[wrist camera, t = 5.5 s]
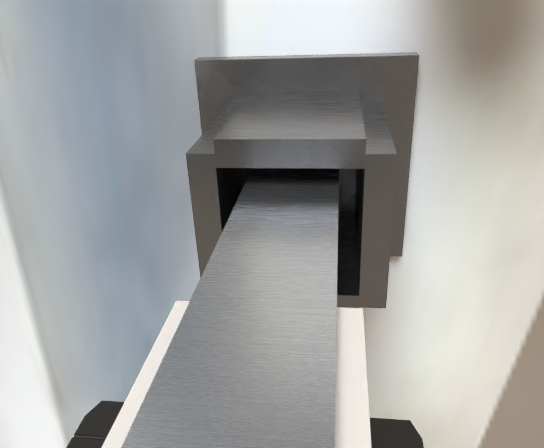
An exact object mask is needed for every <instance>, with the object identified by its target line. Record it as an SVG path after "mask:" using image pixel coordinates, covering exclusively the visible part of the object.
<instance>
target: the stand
mask: <svg viewBox="0 0 544 448" xmlns="http://www.w3.org/2000/svg"><path fill="white" fill-rule="evenodd" d="M418 60H419V55H418V54H417V53H380V54H338V55H295V56H253V57H211V58H198V59H196V60H194V61H195V70H196V80H197V90H198V100H199V110H200V119H201V129H202V136H201V137H200V138H199V139H198V141H197V142H196V143H195V144H194V145H193V146H192V147H191V148H190V150H189V151H188V152H187V153H186V159H187V168H188V176H189V184H190V193H191V201H192V210H193V218H194V226H195V235H196V243H197V252H198V260H199V268H200V277H201V276H202V274H203V272H204V270H205V268H206V266H207V264H208V261H209V259H210V257H211V255H212V253H213V251H214V249H215V246H216V244H217V242H218V240H219V238H220V236H221V234H222V232H223V229H224V227H225V225H226V223H227V221H228V219H229V217H230V214H231V212H232V210H233V208H234V206H235V204H236V202H237V200H238V197H239V195H240V193H241V191H242V189H243V187H244V185H245V182H246V180H247V178H248V176H249V174H250V172H251V170H252V168H332V169H339V205H338V266H337V307H341V308H359V307H369V308H386V299H387V285H388V272H389V258H390V256H402V249H403V237H404V225H405V213H406V202H407V190H408V178H409V166H410V155H411V143H412V131H413V119H414V108H415V96H416V84H417V72H418Z"/></svg>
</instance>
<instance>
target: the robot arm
mask: <svg viewBox="0 0 544 448" xmlns="http://www.w3.org/2000/svg"><path fill="white" fill-rule="evenodd" d="M189 302H190V301H176V302H175V304H174V306H173V308H172V310H171V312H170V314H169V316H168V318H167V320H166V322H165V324H164V326H163V328H162V330H161V332H160V334H159V336H158V338H157V340H156V342H155V344H154V346H153V348H152V349H151V351H150V353H149V355H148V357H147V359H146V361H145V363H144V365H143V367H142V369H141V371H140V373H139V375H138V377H137V379H136V381H135V383H134V385H133V387H132V389H131V391H130V393H129V395H128V397H127V399H126V401H125V402H114V401H101V402H100V403H99V404H98V405H97V406H95V407H94V408H93V409H92V410H91V411H90V412H89V413H88V414H87V415H86V416H85V417H84V419H83V420H82V422H81V424H80V425H79V427H78V429H77V431H76V432H75V434H74V438H72V439H71V441H70V443H69V444H68V446H67V448H121V447H122V445H123V443H124V441H125V438H126V436H127V434H128V432H129V430H130V428H131V426H132V423H133V421H134V419H135V417H136V415H137V413H138V411H139V409H140V406H141V404H142V402H143V400H144V398H145V396H146V394H147V391H148V389H149V387H150V385H151V383H152V381H153V379H154V377H155V374H156V372H157V370H158V368H159V366H160V364H161V362H162V359H163V357H164V355H165V353H166V351H167V349H168V347H169V345H170V342H171V340H172V338H173V336H174V334H175V332H176V330H177V328H178V325H179V323H180V321H181V319H182V317H183V315H184V313H185V310H186V308H187V306H188V304H189ZM335 448H424V447H423V441H422V438H421V437H420V435H419V434H418V432H417V431H416V429H415V427H414V426H413V424H412V423H411V421H410V420H395V419H381V418H370V415H369V399H368V382H367V366H366V350H365V333H364V317H363V308H341V307H337V326H336V387H335Z"/></svg>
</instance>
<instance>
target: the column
mask: <svg viewBox="0 0 544 448" xmlns="http://www.w3.org/2000/svg"><path fill="white" fill-rule="evenodd" d="M338 205H339V169H332V168H252V170H251V172H250V174H249V176H248V178H247V180H246V182H245V185H244V187H243V189H242V191H241V193H240V195H239V197H238V200H237V202H236V204H235V206H234V208H233V210H232V212H231V214H230V217H229V219H228V221H227V223H226V225H225V227H224V229H223V232H222V234H221V236H220V238H219V240H218V242H217V244H216V246H215V249H214V251H213V253H212V255H211V257H210V259H209V261H208V264H207V266H206V268H205V270H204V272H203V274H202V276H201V278H200V281H199V283H198V285H197V287H196V289H195V291H194V293H193V296H192V298H191V300H190V302H189V304H188V306H187V308H186V310H185V313H184V315H183V317H182V319H181V321H180V323H179V325H178V328H177V330H176V332H175V334H174V336H173V338H172V340H171V342H170V345H169V347H168V349H167V351H166V353H165V355H164V357H163V359H162V362H161V364H160V366H159V368H158V370H157V372H156V374H155V377H154V379H153V381H152V383H151V385H150V387H149V389H148V391H147V394H146V396H145V398H144V400H143V402H142V404H141V406H140V409H139V411H138V413H137V415H136V417H135V419H134V421H133V423H132V426H131V428H130V430H129V432H128V434H127V436H126V438H125V441H124V443H123V445H122V447H121V448H335V387H336V326H337V266H338Z"/></svg>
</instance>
